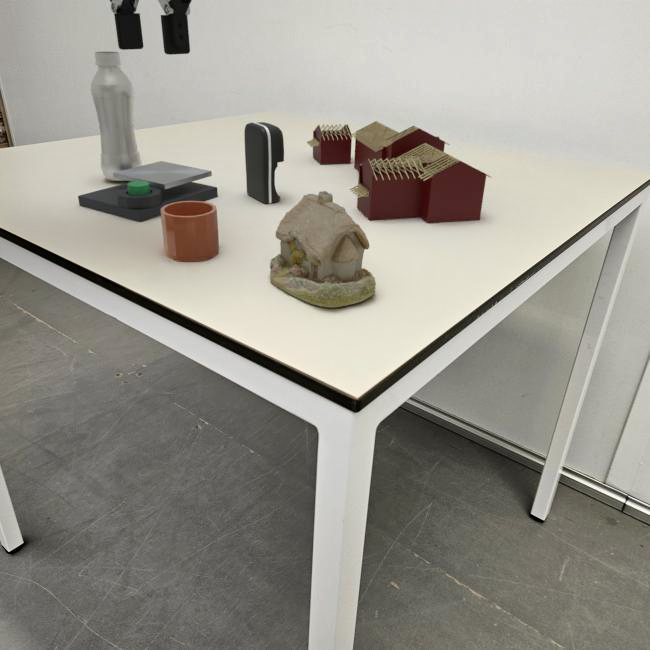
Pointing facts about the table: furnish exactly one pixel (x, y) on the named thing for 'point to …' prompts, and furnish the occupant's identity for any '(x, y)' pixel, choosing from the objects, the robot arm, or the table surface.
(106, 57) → the plastic bottle
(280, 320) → the table surface
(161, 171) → the scale pan
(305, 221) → the ceramic model
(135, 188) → the tare button
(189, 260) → the ramekin
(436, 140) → the toy houses
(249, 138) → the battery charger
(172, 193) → the scale
